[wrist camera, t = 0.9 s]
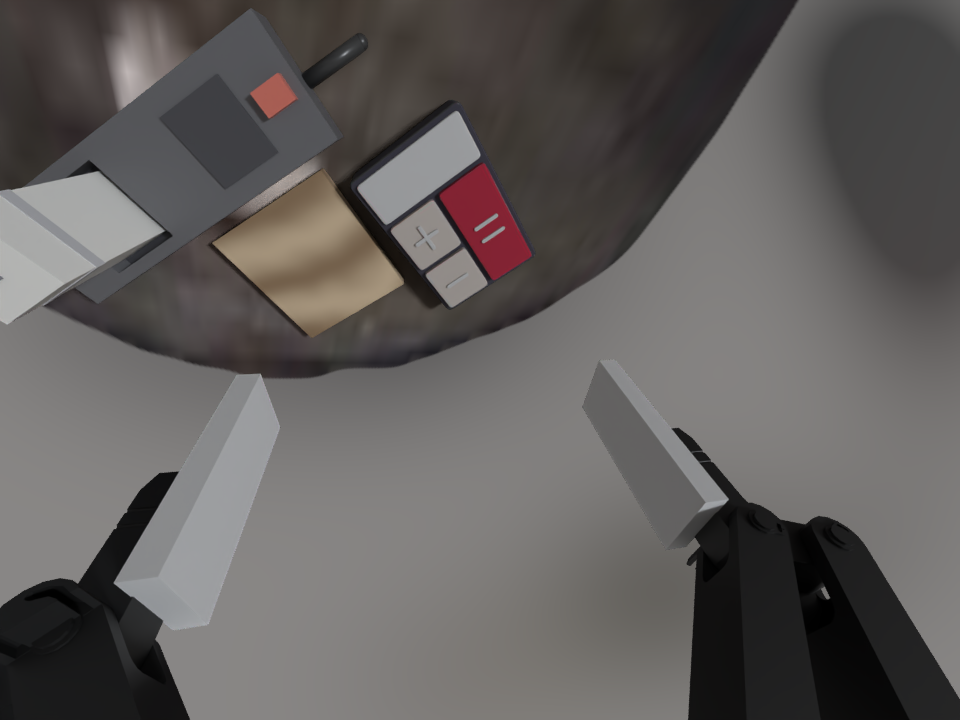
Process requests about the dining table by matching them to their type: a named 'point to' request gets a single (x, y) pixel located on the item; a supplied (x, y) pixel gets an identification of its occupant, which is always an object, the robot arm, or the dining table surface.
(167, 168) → the grey handheld radio
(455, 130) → the calculator
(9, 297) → the block
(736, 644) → the robot arm
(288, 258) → the wooden board
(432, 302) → the dining table surface
